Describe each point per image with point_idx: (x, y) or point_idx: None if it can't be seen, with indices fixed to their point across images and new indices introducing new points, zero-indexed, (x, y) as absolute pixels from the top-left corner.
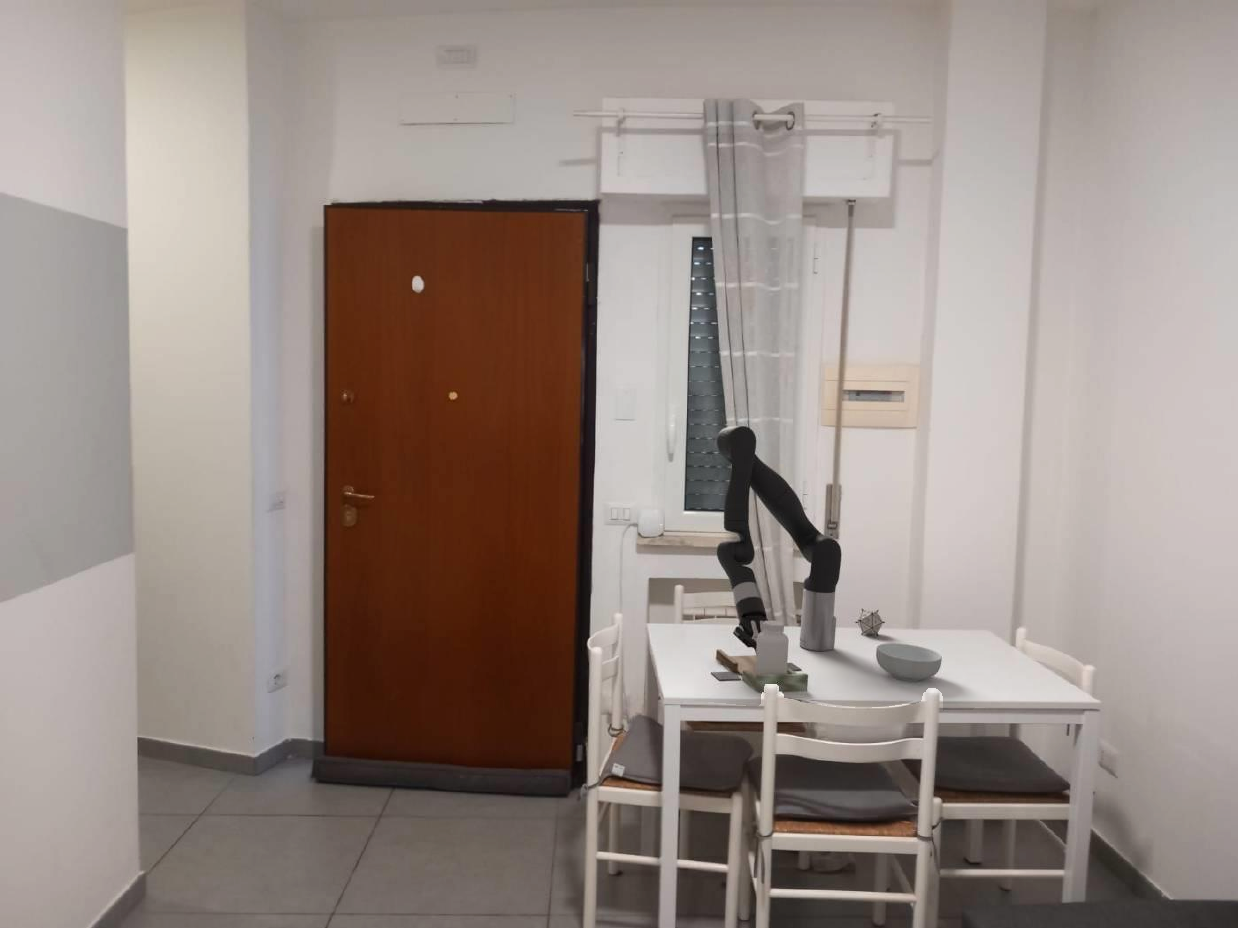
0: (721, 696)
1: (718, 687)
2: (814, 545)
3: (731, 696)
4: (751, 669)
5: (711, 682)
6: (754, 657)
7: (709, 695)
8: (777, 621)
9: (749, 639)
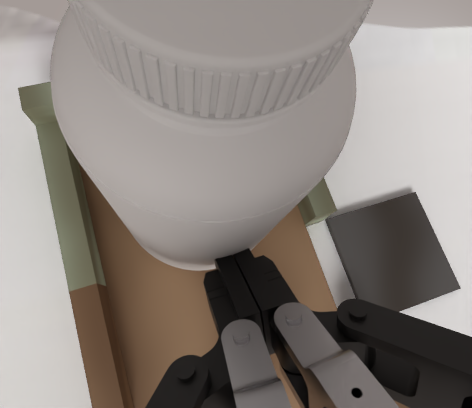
0: (389, 34)
1: (407, 116)
2: None
3: (358, 37)
4: (275, 364)
5: (438, 167)
6: None
7: (427, 39)
8: (136, 7)
9: (381, 318)
